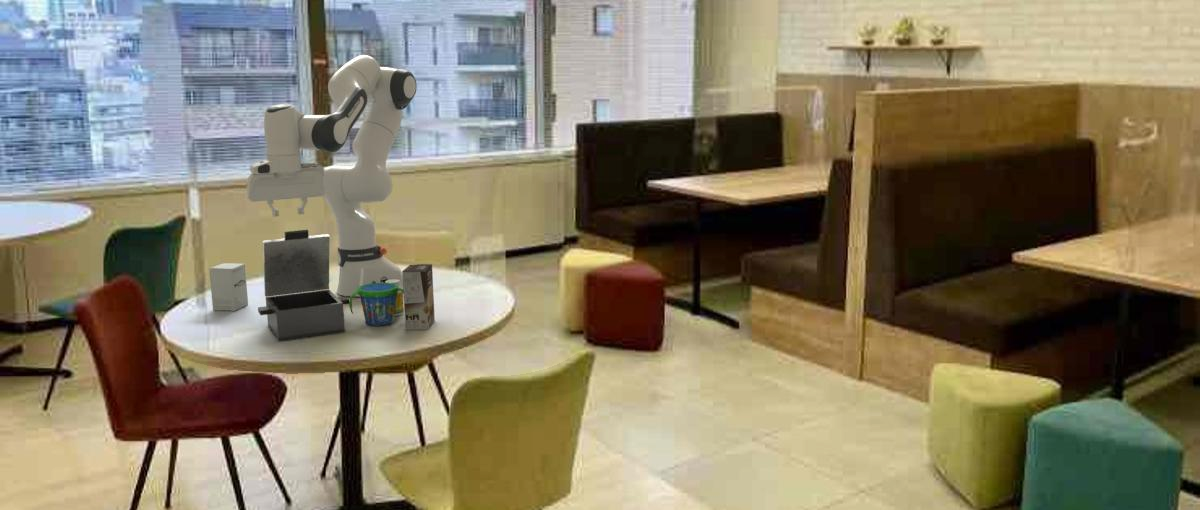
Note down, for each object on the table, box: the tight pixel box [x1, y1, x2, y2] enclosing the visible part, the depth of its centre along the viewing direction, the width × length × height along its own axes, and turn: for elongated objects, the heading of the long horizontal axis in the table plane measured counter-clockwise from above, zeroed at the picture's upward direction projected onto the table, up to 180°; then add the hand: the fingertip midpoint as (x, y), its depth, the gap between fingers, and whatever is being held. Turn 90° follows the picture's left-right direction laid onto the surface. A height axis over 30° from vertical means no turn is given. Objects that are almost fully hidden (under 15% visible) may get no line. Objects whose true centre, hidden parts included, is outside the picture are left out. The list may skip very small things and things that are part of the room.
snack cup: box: [348, 283, 403, 327], centre depth 267 cm, size 16×10×10 cm
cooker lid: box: [262, 229, 330, 298], centre depth 265 cm, size 17×19×1 cm
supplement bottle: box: [385, 279, 405, 317], centre depth 276 cm, size 5×5×10 cm
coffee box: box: [401, 263, 436, 331], centre depth 263 cm, size 9×6×16 cm
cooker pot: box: [257, 289, 350, 342], centre depth 262 cm, size 23×17×8 cm
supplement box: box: [208, 262, 249, 312], centre depth 285 cm, size 7×7×13 cm
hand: (288, 215), depth 268 cm, fingers open, 5 cm apart
